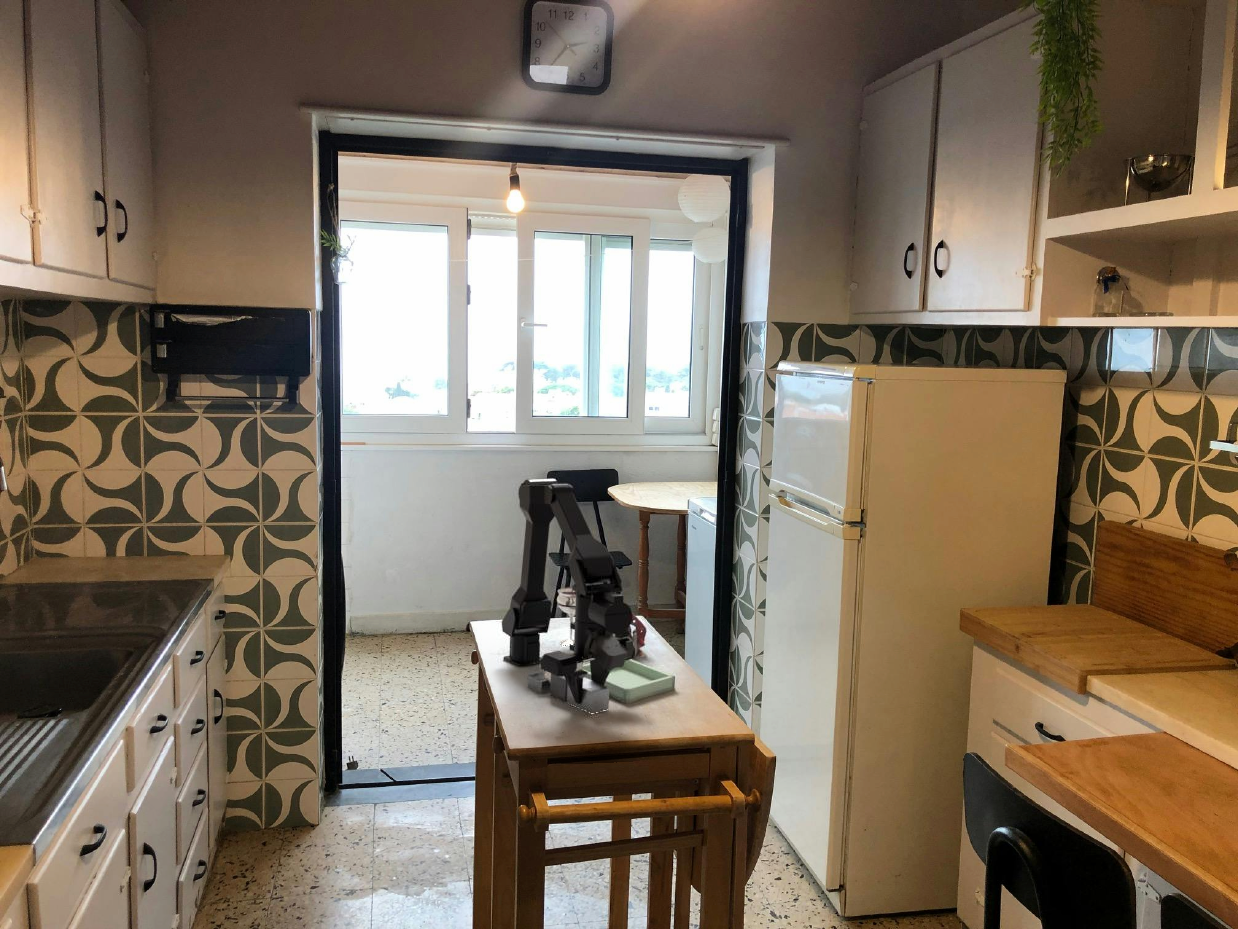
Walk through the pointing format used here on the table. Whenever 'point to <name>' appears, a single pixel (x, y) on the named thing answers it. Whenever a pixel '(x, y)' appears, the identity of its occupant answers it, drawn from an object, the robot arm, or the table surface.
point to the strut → (592, 694)
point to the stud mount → (540, 682)
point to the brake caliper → (635, 635)
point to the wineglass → (567, 608)
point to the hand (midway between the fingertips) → (587, 701)
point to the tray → (635, 681)
